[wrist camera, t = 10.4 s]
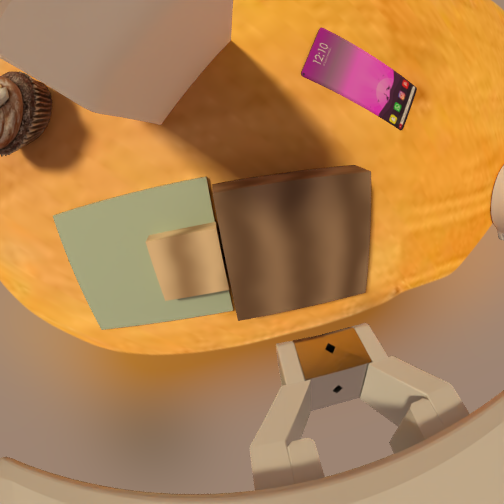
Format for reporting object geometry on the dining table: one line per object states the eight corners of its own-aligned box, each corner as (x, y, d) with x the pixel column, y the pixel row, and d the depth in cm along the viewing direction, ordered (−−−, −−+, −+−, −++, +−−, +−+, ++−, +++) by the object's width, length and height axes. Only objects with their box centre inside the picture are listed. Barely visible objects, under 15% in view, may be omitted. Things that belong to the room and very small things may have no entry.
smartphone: (397, 131, 31) (401, 131, 30) (298, 75, 27) (301, 74, 26) (413, 87, 28) (417, 87, 27) (319, 27, 24) (322, 25, 23)
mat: (206, 176, 30) (206, 177, 30) (232, 308, 38) (233, 310, 38) (54, 214, 29) (52, 216, 28) (102, 327, 37) (101, 329, 37)
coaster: (215, 221, 32) (216, 228, 30) (228, 280, 36) (229, 289, 34) (148, 235, 32) (145, 242, 30) (167, 291, 35) (165, 300, 33)
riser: (354, 165, 32) (370, 171, 28) (353, 277, 39) (365, 292, 35) (212, 184, 31) (212, 193, 27) (235, 301, 38) (238, 320, 34)
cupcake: (-2, 146, 23) (-51, 162, 14) (13, 74, 19) (-37, 71, 10) (49, 154, 26) (-1, 172, 17) (67, 75, 22) (19, 66, 13)
